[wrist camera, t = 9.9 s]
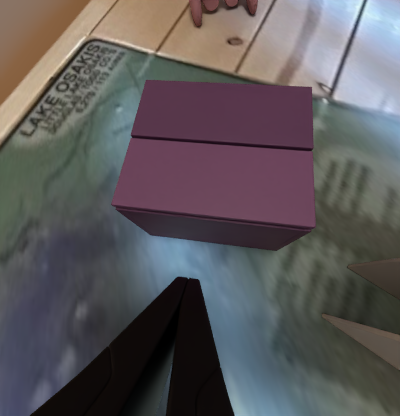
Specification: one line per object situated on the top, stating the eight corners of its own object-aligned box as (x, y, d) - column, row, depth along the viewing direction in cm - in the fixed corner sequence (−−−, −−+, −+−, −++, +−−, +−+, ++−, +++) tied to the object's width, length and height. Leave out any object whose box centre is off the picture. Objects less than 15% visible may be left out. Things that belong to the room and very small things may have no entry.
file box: (276, 250, 22) (316, 228, 13) (150, 235, 23) (109, 205, 14) (279, 154, 25) (312, 86, 16) (168, 146, 27) (145, 78, 18)
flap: (313, 229, 13) (316, 227, 13) (113, 206, 15) (110, 204, 14) (310, 154, 15) (312, 151, 15) (132, 141, 17) (130, 137, 16)
